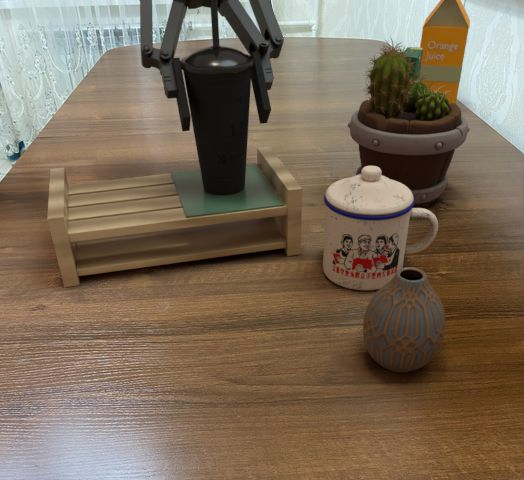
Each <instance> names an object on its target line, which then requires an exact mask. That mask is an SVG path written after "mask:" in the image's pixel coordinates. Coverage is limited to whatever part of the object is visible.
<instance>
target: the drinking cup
mask: <svg viewBox="0 0 524 480" xmlns="http://www.w3.org/2000/svg"><path fill="white" fill-rule="evenodd" d="M210 5H211V8H210V20H211V21H210V22H211V38H212V39H211V40H212V45H210V46H206V47H202V48H198V49H196V50H194V51H193V52H191V53H190V54H188V55H186V56H184V57H182V58H180V63H181V68H182V73H183V79H184V84H185V89H186V95H187V100H188V105H189V111H190V116H191V124H192V129H193V135H194V141H195V146H196V151H197V157H198V164H199V169H200V170H201V176H202V182H203V187H204V190H205V191H206V192H208V193H211V194H215V195H230V194H235V193H238V192H240V191H242V190H243V189H244V187H245V175H246V164H247V157H248V138H249V120H250V104H251V103H250V102H251V86H252V81H251V70H252V67H253V66H254V58H253V57H251V56H250V55H249V54H247V53H244V52H242V51H241V50H239V49H238V48H233V47H232V46H231V47H230V46H226V45H220V29H219V26H220V25H219V12H218V7H217V0H210Z"/></svg>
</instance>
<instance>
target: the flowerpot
mask: <svg viewBox="0 0 524 480" xmlns="http://www.w3.org/2000/svg"><path fill="white" fill-rule="evenodd" d="M389 38H390V40H391V44H390V43H389V41H388V40H387V39H384V41H385V42H386V43H387V45H385V44H382V45H381V46H382V47H380V51H382V52H379V55H380V56H376V54H377V52H376V53H374V55H373V58H372V57H370V59H369V61H370V62H369V64H373V65H371V67H370V68H369V67H368V66H367V65H365V67H366V69H367V70H366V72H365V74H362V75H363V77H364V76H365V78H364V80H365V81H364V83H365V87H364V88H363V89H362V91H363V92H365V94H366V95H365V96H366V97H365V100H363V101H362V102H361V103H360V105H359V109H358V110H356V111H355V112H354V113H353V114H352V115H351V118H350V121H349V122H348V123H347V127H348V129H349V134H350V137H351V139H352V140H353V142H355V143H357V144H358V152H359V153H358V154H359V160H360V167H358V168H357V170H356V172H355V176H356V175H359V174H361V170H362V169H363V168H364V167H366V166H377V167H379V168H380V169H381V171H382V174H381V175H383V176H385V177H387V178H389V179H392V180H395V181H398V182H400V183H402V184H404V185H405V186H407V187H408V188H409V189H410V190H411V192H412V194H413V198H414V206H413V208H423V209H426V208H427V207H429V206H430V205H431V204H434V203H435V202H436V201H437V199H438V198H439V197H440V196H441V195H442V194H443V193H444V191H445V189H446V188H447V186H448V185H449V176H448V174H447V172H448V170H449V168H450V165H451V163H452V161H453V157H454V154H455V151H456V149H458V148H460V147H461V146H462V145H463V144H464V143H465V142H466V139H467V137H468V133H469V132H470V127H469V123H468V121H467V119H466V118H465V117H464V116H463V115H462V111H461V108H460V107H459V105H458V104H457V103H456V104H455V103H449V101H448V100H449V98H450V96H449V98H448V99H447V98H446V97H445V96H446V93H447V92H449V91H447V92H446V93H445V92H444V93H438V92H437V90H438V89H440V88H441V87H443V86H441V87H440V88H438V89H437V88H436V89H435V90H434V91H432V88H431V91H430V89H429V88H430V87H429V86H427V85H426V84H425V83H423V82H421V80H423V79H426V78H423V77H424V76H426V75H424V76H423V77H422V78H421V77H420V78H421V79H419V81H417V78H419V77H418V76H417V77H416V76H415V75H414V76H415V79H414V80H415V81H413V78H414V76H410V77H411V80H410V79H409V72H410V71H412V70H415V68H414V67H413V66H412V65H413V63H415V62H413V63H410V64H412V65H410V64H409V62H410V61H409V62H408V60H411V59H408V60H407V59H404V58H406V55H405V57H404V58H403V56H404V54H406V53H403V52H404V51H405V50H406V47H403V49H402V48H400V47H402V45H401V44H402V43H403V42H402V41H401V42H399V43H397V44H396V46H394V41H393V39H392V37H391V36H389ZM402 53H403V54H402ZM409 55H410V54H409ZM407 56H408V55H407ZM408 58H409V57H408ZM406 60H407V61H406ZM410 66H411V67H413V68H411V67H410ZM417 70H418V69H417ZM418 73H419V72H418ZM413 74H414V73H413ZM415 74H416V73H415ZM419 74H420V73H419ZM419 74H417V75H419ZM410 75H411V74H410ZM412 77H413V78H412ZM367 82H368V83H369V84H368V83H367ZM428 82H429V81H428ZM433 83H434V82H433ZM433 83H432V84H433ZM432 84H431V85H432ZM431 85H430V86H431ZM434 88H435V87H434ZM445 91H446V90H445ZM369 95H370V96H369ZM367 98H369V99H367Z"/></svg>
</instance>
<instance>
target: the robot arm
mask: <svg viewBox="0 0 524 480" xmlns="http://www.w3.org/2000/svg"><path fill="white" fill-rule="evenodd" d="M248 2H249V5H250V7H251V10H252V12H253V15H254V18H255V21H256V23H257V25H256V24H255V22H254V20H253V19H252V18H251V17H250V15H249V13H248V12H247V10H246V9H245V8H244V6H243V4H242V3H241V1H240V0H217V7H218V14H219V15H220V16H221V18H222V17H224V19H225V20H226V22H227V23H228V24H229V26H230V28H231V29H232V31H233V33H235V35H236V37H237V38H238V39H239V41H240V43H241V44H242V46H243V47H244V49H245V50H246V51H247V53H248V55H249V56H251V57H253V58H254V66H253V67H252V70H251V86H252V92H253V95H254V102H255V105H256V111H257V115H258V121H259V124H261V125H262V124H268V121H269V117H270V116H271V111H272V106H271V100H270V97H269V91H271V89H272V87H273V83H274V78H275V77H274V73H273V72H274V71H273V68H272V61H271V59H278V58H280V55H281V52H282V49H283V45H284V42H285V38H284V35H283V33H282V29H281V27H280V25H279V22H278V19H277V17H276V14H275V11H274V9H273V6H272V4H271V0H248ZM202 7H203V8H209V9H211V5H210V0H172V1H171V6H170V10H169V14H168V18H167V21H166V25H165V29H164V33H163V37H162V40H161V44H160V48H156V47H154V38H153V37H154V36H153V35H154V34H153V33H154V30H153V23H154V22H153V0H139V25H140V26H139V28H140V29H139V30H140V31H139V32H140V33H139V34H140V36H139V37H140V62H141V66H142V68H145V69H151V68H155V69H157V70H158V71H159V75H161V81H162V85H163V92H164V95H165V97H166V98H167V100H168V99H175V100H176V104H177V109H178V115H179V120H180V126H181V131H182V132H190V130H191V128H190V127H191V121H192V118H191V112H190V107H189V101H188V95H187V89H186V84H185V78H184V72H183V70H182V68H181V63H180V60H181V58H180V57H176V56H175V55H176V51H177V47H178V44H179V39H180V36H181V31H182V27H183V24H184V20H185V18H186V13H187V10H195V9H199V8H202ZM257 26H258V27H257Z"/></svg>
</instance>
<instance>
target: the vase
mask: <svg viewBox="0 0 524 480" xmlns="http://www.w3.org/2000/svg"><path fill="white" fill-rule="evenodd" d="M362 321H363V323H362V337H363V341H364V342H363V343H364V346H365V348H366V350H367V352H368V354H369V356H370V357H371V358H372V359H373V360H374V361H375V363H377V364H378V365H380V366H381V367H382V368H384V369H386V370H388V371H391V372H395V373H410V372H413V371H416V370H418V369H422V368H423V367H425V366H426V365H428V364H429V363H430V362H431V361H432V360H433V359H434V358H435V356H436V355H437V353H438V352H439V350H440V348H441V346H442V343H443V340H444V339H445V338H444V337H445V333H446V326H447V325H446V324H447V323H446V322H447V321H446V313H445V309H444V305H443V302H442V300H441V299H440V297H439V295H438V293H437V292H436V291H435V289H434V288H433V287H432V285H431V284H430V282H429V279H428V275H427V273H426V272H425V271H424V270H423V269H421V268H418V267H412V266H406V267H403V268H401V269H399V270H398V271H397V272H396V274H395V276H394V277H393V278H392V279H391V280H390V281H389V282H388V283H386V284H385V285H384V286H383V287H382V288H380V289H377V290H376V292H375V293H374V294H373V295H372V297H371V298H370V301H369V302H368V304H367V306H366V309H365V312H364V316H363V320H362Z"/></svg>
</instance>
